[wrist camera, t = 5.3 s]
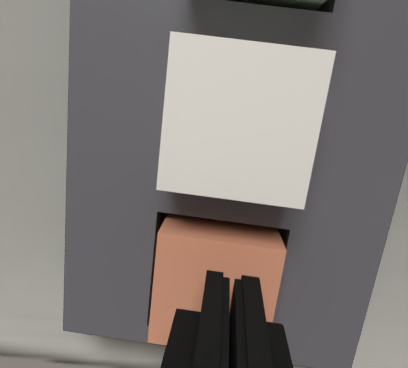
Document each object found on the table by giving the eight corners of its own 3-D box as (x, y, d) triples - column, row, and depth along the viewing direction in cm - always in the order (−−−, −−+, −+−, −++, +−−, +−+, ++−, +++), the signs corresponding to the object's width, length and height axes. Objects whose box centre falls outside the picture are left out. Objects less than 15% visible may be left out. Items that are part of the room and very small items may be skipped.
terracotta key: (173, 203, 15) (157, 233, 11) (272, 216, 15) (286, 250, 11) (164, 291, 16) (147, 342, 12) (256, 304, 16) (265, 360, 12)
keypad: (110, -163, 12) (75, -245, 10) (439, -130, 12) (506, -204, 9) (90, 291, 17) (63, 330, 14) (328, 325, 17) (349, 373, 14)
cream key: (185, 50, 12) (170, 30, 9) (305, 65, 12) (336, 50, 9) (173, 167, 13) (155, 189, 10) (283, 182, 13) (304, 209, 10)
